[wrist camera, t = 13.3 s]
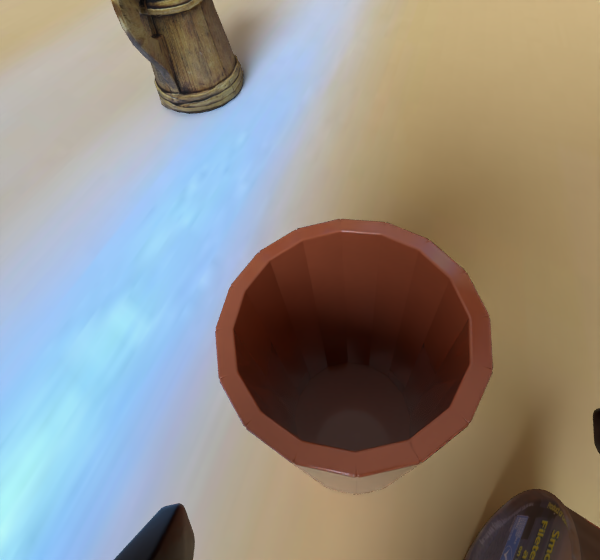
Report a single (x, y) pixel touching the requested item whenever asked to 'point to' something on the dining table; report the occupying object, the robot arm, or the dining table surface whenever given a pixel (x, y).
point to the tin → (536, 531)
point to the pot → (354, 351)
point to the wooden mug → (183, 51)
